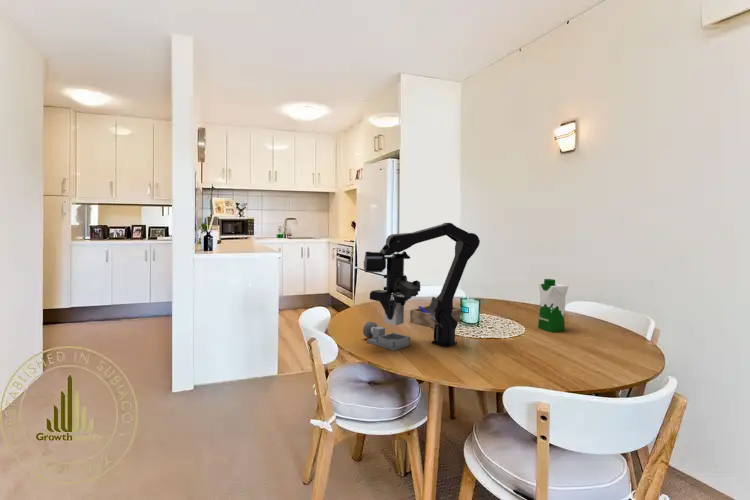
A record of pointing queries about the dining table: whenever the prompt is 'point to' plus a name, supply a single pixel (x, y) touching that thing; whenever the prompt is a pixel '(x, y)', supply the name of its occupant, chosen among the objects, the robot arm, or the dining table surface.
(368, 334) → the wheel
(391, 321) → the block
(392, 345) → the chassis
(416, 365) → the dining table surface
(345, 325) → the dining table surface
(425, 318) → the toy corral
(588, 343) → the dining table surface
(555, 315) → the milk carton
